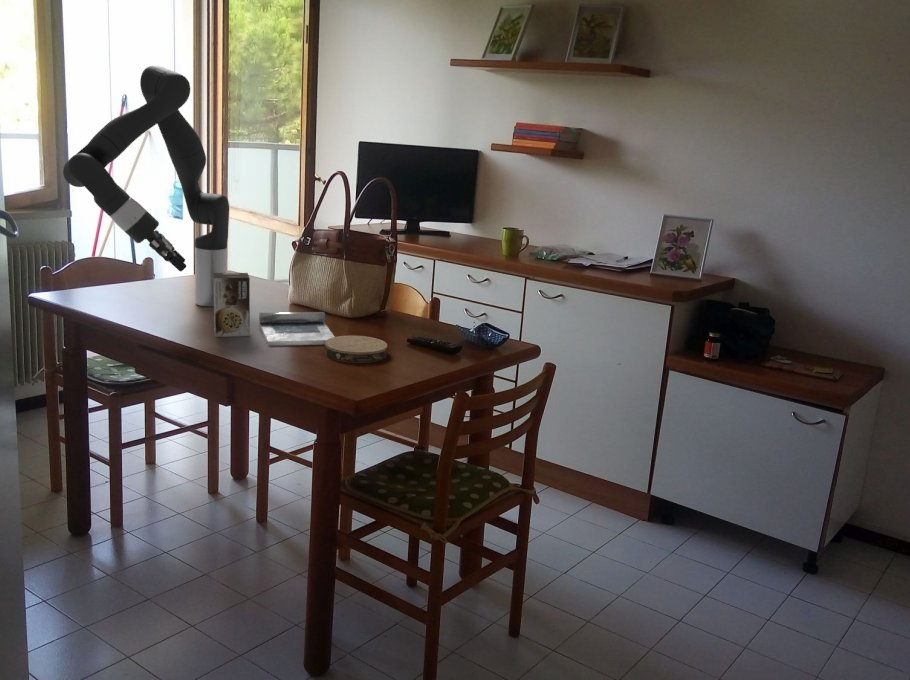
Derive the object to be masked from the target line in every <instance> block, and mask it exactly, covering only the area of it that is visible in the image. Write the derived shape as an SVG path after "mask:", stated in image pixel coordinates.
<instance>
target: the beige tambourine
mask: <svg viewBox="0 0 910 680" xmlns="http://www.w3.org/2000/svg"><path fill="white" fill-rule="evenodd" d="M387 354H388V343H387V342H386V341H385V340H382V339H379V338H375V337H373V336H366V335H341V336H340V335H339V336H335V337H333V338H330V339H328V340H326V341H325V345H324V355H325V356H326V357H327V358H329V359H332V360H335V361H338V362H344V363H345V362H346V363H351V364H352V363H353V364H356V363H357V364H363V363H365V364H367V363H374V362H375V363H376V362H379V361H382V360H384V359H386V358H387V356H388V355H387Z"/></svg>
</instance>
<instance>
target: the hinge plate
mask: <svg viewBox="0 0 910 680" xmlns="http://www.w3.org/2000/svg"><path fill="white" fill-rule="evenodd" d="M325 322H326V313H325V312H323V311H319V312H318V311H317V312H316V311H315V312H314V311H313V312H311V311H310V312H309V311H308V312H307V311H306V312H305V311H304V312H301V311H299V312H296V311H294V312H291V311H290V312H259V313H258V328H259V330H260V332H261V334H262V335H263V338H264V340H265V342H266V345H267V347H272V346H273V347H275V346H276V347H277V346H280V347H281V346H282V347H283V346H312V345H313V346H318V345H320V346H323V345H324V346H325V341H326V340H328V339H330V338H333V337H336V336H335V335H334V334H333V331H331V330H330V328H329V327H328V325H326V323H325Z"/></svg>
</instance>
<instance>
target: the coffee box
mask: <svg viewBox="0 0 910 680" xmlns="http://www.w3.org/2000/svg"><path fill="white" fill-rule="evenodd" d="M250 283H251V277H250V275H249V273H248V272H227V273H214V306H213V319H214V320H213V323H214V324H213V330H214V332H213V333H214V337H215V338H221V337H222V338H226V337H231V338H232V337H250V335H251V319H250V318H251V312H250V311H251V310H250V306H251V305H250V302H251V299H250V298H251V297H250V296H251V295H250V291H251V289H250Z"/></svg>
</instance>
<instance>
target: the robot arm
mask: <svg viewBox="0 0 910 680" xmlns="http://www.w3.org/2000/svg"><path fill="white" fill-rule="evenodd" d="M139 83H140V84H139V85H140V91H141V94H142V96H143V99H144V100H145V102H146V103H145V104H143V105H141V106H140V107H138V108H136V109H133V110H131V111H128V112H126V113H123V114H121V115H119V116H117V117H115V118H114V119H112V120H110V121H109V122H108V123H106V124H105V125H104V126H102V128H101V129H100V130H99V131H98V132H97V133H96V134H94V135H93V137H92V138H91V139H90V141H89V142H88V143H87V144H86V145H85V146H84V147H83V148H81V149H80V150H79V151H77V153H75V154H74V155H73V156H71V158H69V159H68V160H67V162H65V164H64V166H63V169H62V175H63V178H64V180H65V181H66V182H67V184H69V185H71V186H72V187H77V188H85V189H87V191H88V192H89V193H90V194H91V195H92V197H93V201H94V202H95V204H96V205H97V206H98V208H100V209H101V210H102V211H103V212H104V213H105V214H106V215H107V216H109V217H110V219H111V220H112V221H113V222H114V223H115V224H116V225H117V226H118V227H119V228H120V229H121V230H122V231H123V232H124V233H125V234H126V235H127V236H129V237H130V239H132V240H133V241H134V242H135V243H136V244H141V243H142V242H143V241H144V240H146V241H148V246H149V247H150V248H151V249H152V250H154V251H155V252H156V253H157V254H158V256H160V257H161V258H163V261H166V262H167V263H170V264H171V265H172V266H173V267H175V268H176V270H177V271H179V272H183V271H184V270H185V269H186V268H187V264H186V263H185V262H186V259H185V258H184V257H183V255H181V254H180V253H179V252H178V251H177V250H176V248H175V246H173V243H171V242H170V240H168V239H167V238H166V237H165V235H164V234H162V233H161V232H159V231H158V230H157V229H158V226H159V225H160V222H159V221H158V219H156V218H155V217H154V216H153V215H152V214H151V213H150V212H148V211H147V210H146V208H145V207H143V206H142V204H140V203H139V202H138V201H137V200H135V198H133V197H131V195H129V193H127V192H126V191H125V190H124V189H123V187H121V186H120V185H118V184H117V182H116V181H115V180H114V179H113V177H112V175H111V174H110V172H108V170H107V169H106V167H107V166H108V165H109V164H110V163H112V162H113V161H114V160H116V159H117V158H119V156H120V155H122V154H123V152H125V150H127V148H129V146H131V144H133V143H134V142H135V141H136V140H137V139H138V138H140V137H141V136H142V135H143V134H144V133H146V132H148V131H149V130H150V129H152V128H153V127H154V126H156V125H157V126H158V129H159V132H160V134H161V136H162V138H163V139H162V140H163V141H164V143H165V147H166V149H167V152H168V155H169V157H170V160H171V162H172V165H173V167H174V170H175V172H176V175H177V177H178V180H179V184H180V186H181V189H182V193H183V197H184V200H185V204H186V208H187V211H188V214H189V217H190V218H191V220H192V221H193V222H194V223H196V224H199V225H208V226H212V227H211V231H209V232H208V233H207V234H203V235H199V236H197V237H196V238H195V239H194V267H195V268H194V277H195V279H194V281H195V282H194V283H195V288H194V292H195V297H194V298H195V299H194V301H195V302H194V303H195V305H198V306H201V307H214V273H228V241H229V223H230V220H229V219H230V202H229V199H228V197H227V196H226V195H224V194H219V193H210V192H203V191H202V190H201V188H200V184H199V181H200V178H201V176H202V175H203V173H204V169H205V168H206V163H207V156H206V152H205V150H204V146H203V143H202V141H201V138H200V137H199V135H198V133H197V131H195V129H194V128H193V127H192V125H191V124H190V123H189V122H188V120H187V119H186V118H185V117H184V115H183V114H182V113H181V111H180V108H182V107H183V106H184V105H185V104H186V102H187V101H188V99H189V97H190V94H191V84H190V82H189V80H188V78H187V77H186V76H184V75H183V74H181V73H179V72H178V71H177V72H176V71H174V70H171V69H168V68H165V67H163V66H159V65H149V66H147V67H145V68H144V69H143V71H142V73H141V76H140V82H139Z"/></svg>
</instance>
